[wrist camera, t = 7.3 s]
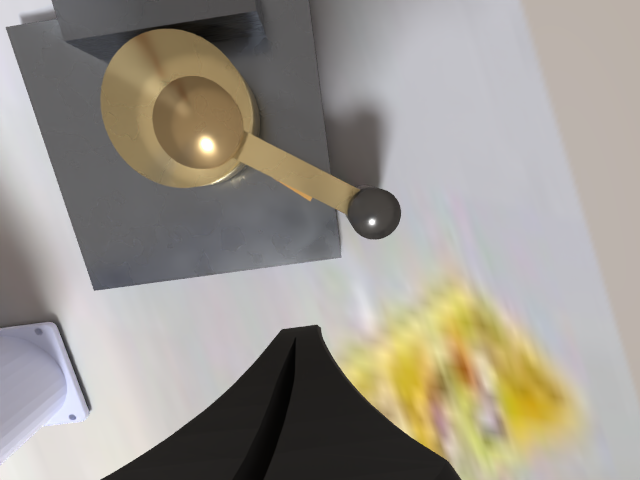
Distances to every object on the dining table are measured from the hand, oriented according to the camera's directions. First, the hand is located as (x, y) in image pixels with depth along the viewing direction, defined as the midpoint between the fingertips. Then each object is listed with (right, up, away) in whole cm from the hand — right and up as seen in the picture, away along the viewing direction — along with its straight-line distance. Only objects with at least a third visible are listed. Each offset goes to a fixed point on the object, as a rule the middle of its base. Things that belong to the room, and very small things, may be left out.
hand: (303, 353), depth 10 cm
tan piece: (-3, +9, +7) cm, 11 cm away
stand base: (-7, +9, +8) cm, 14 cm away
